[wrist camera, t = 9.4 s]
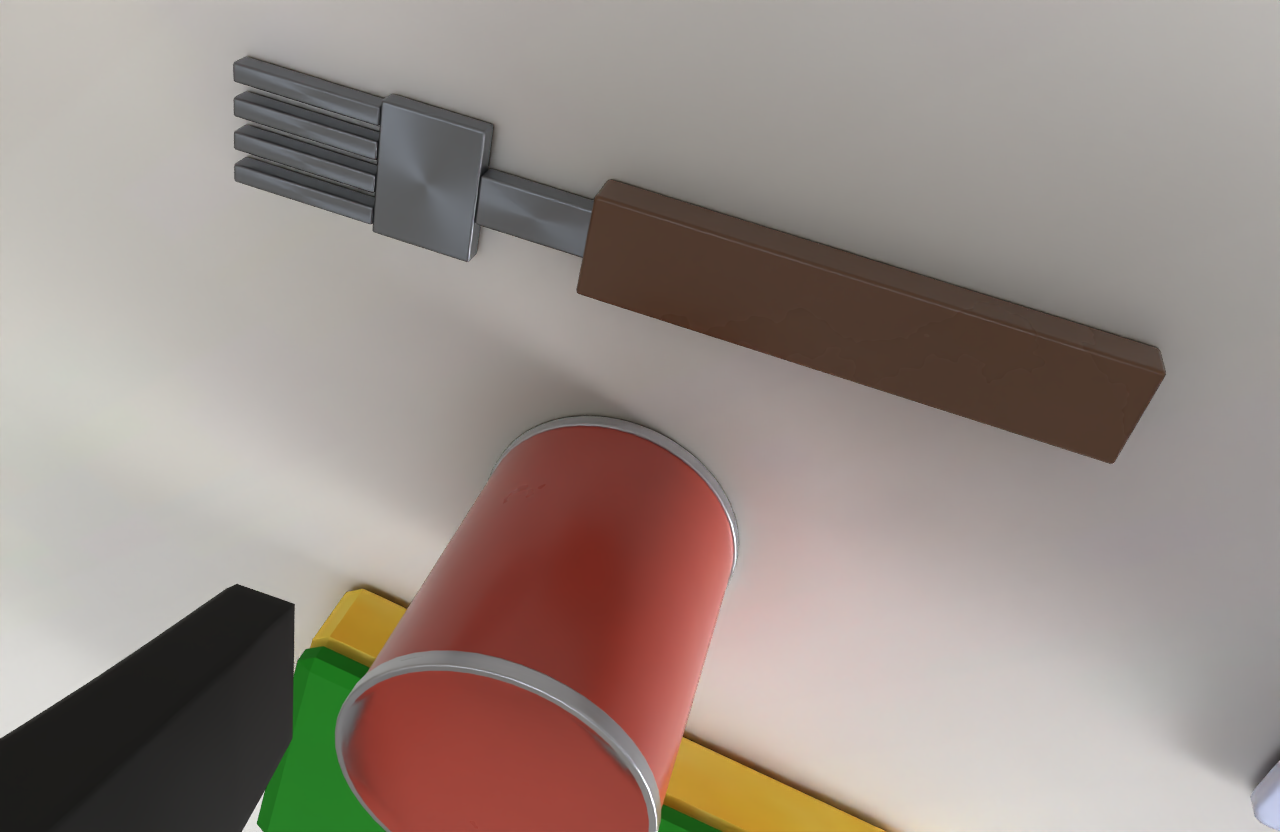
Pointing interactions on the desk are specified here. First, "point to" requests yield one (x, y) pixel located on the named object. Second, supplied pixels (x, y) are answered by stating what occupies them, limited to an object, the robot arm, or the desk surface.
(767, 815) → the dish sponge
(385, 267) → the desk surface
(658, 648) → the tin can
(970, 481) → the desk surface
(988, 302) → the fork
